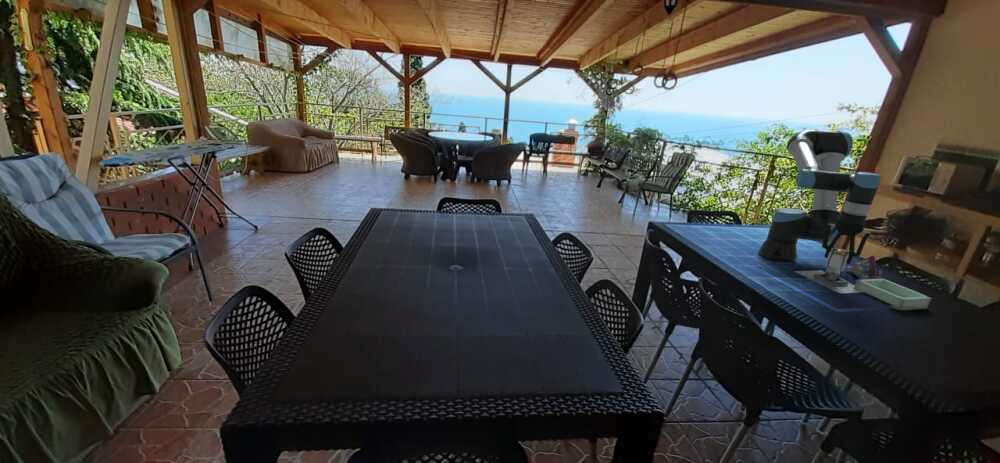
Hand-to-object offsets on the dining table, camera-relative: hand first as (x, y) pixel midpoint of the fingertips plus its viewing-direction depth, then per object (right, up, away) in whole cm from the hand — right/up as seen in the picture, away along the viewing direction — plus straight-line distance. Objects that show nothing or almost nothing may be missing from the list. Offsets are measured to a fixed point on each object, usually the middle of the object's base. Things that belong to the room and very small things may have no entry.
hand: (834, 267), depth 158 cm
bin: (+13, -11, -9) cm, 19 cm away
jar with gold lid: (0, -5, +2) cm, 5 cm away
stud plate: (0, -7, +2) cm, 7 cm away
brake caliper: (+19, -6, +8) cm, 21 cm away
